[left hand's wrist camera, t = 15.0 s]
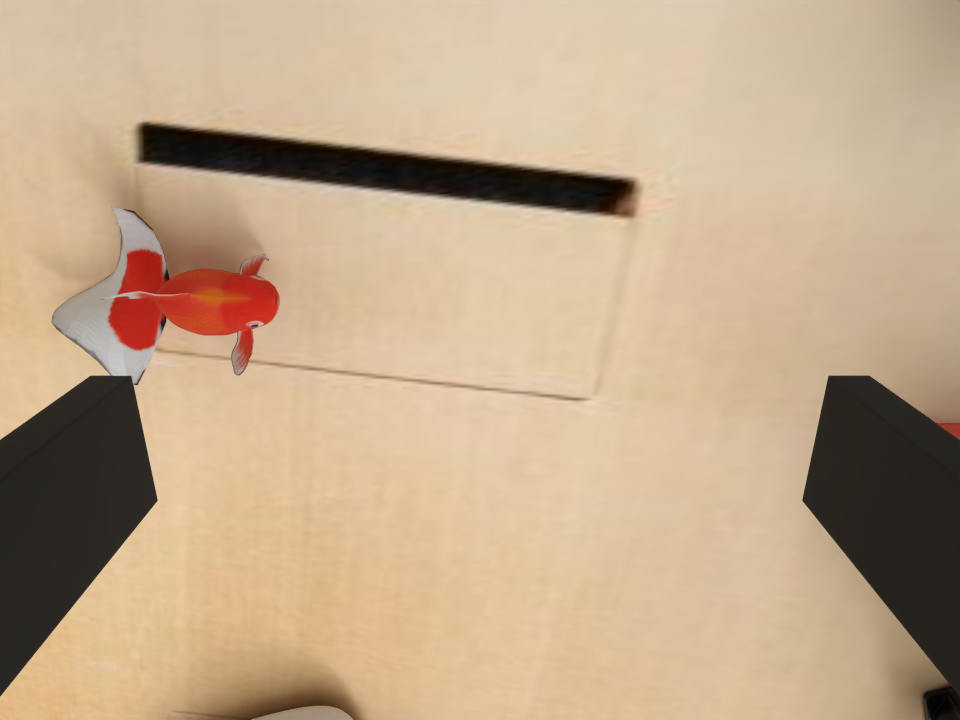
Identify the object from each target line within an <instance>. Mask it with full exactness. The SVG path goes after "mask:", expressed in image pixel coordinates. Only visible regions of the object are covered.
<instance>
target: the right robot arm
mask: <svg viewBox="0 0 960 720" xmlns="http://www.w3.org/2000/svg"><path fill="white" fill-rule="evenodd" d="M924 705H925V714H926V720H960V696H959V695H958V694H957V692H956V691H955V690H954V689H953V687H949V688H945V689H941V690H937V691H932V692H928V693H926V694H925V695H924Z"/></svg>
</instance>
